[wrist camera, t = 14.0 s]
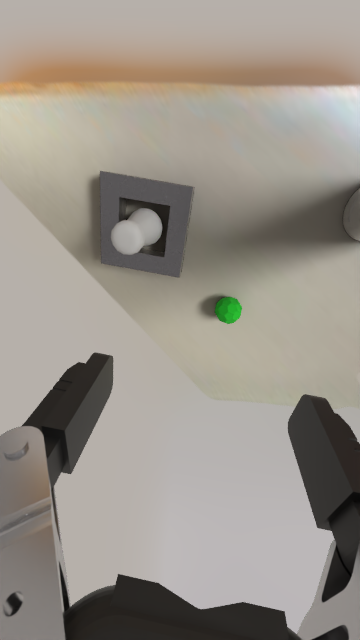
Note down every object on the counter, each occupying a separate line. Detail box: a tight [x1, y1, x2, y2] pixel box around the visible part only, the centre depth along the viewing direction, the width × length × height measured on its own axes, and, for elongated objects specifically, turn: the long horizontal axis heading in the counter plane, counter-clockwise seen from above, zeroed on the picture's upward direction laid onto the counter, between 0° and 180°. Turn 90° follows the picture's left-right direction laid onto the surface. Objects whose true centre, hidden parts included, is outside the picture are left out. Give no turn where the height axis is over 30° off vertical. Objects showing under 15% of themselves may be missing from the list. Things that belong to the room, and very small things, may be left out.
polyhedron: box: [215, 297, 242, 324], centre depth 45 cm, size 5×5×5 cm
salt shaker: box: [111, 208, 163, 255], centre depth 36 cm, size 6×6×13 cm
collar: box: [100, 171, 195, 277], centre depth 40 cm, size 14×14×4 cm
